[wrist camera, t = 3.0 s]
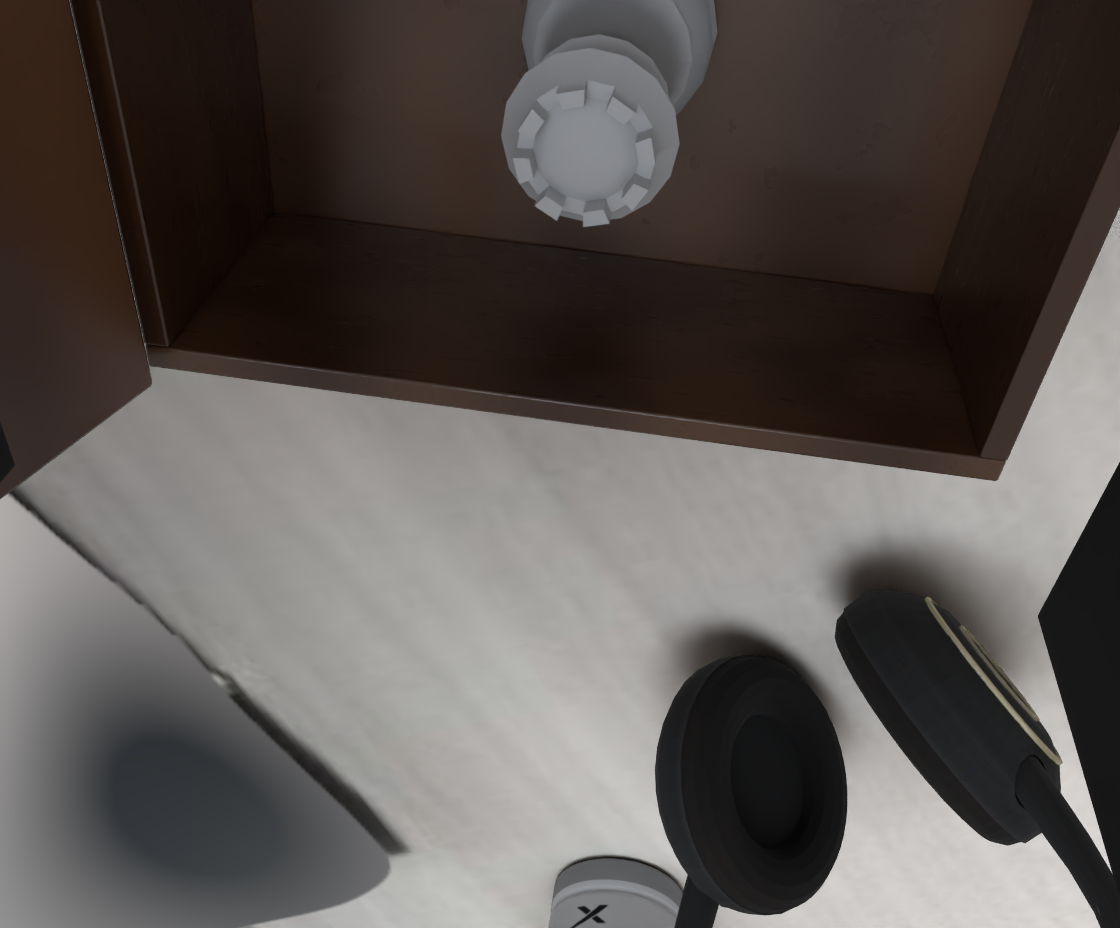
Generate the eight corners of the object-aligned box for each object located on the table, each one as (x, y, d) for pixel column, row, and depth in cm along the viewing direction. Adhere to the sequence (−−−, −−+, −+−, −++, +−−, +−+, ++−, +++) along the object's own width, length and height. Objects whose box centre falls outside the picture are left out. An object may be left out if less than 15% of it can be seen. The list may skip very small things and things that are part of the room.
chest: (1152, -284, 20) (1319, -240, 14) (945, 305, 29) (998, 482, 23) (192, -375, 21) (-13, -368, 16) (264, 218, 30) (148, 366, 24)
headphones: (1091, 640, 36) (1357, 1412, 21) (738, 774, 43) (739, 1415, 28) (964, 484, 32) (1169, 1273, 17) (603, 659, 40) (520, 1318, 24)
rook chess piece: (726, -80, 23) (722, 34, 17) (709, 120, 26) (701, 281, 20) (525, -85, 23) (450, 24, 17) (530, 112, 26) (466, 267, 20)
